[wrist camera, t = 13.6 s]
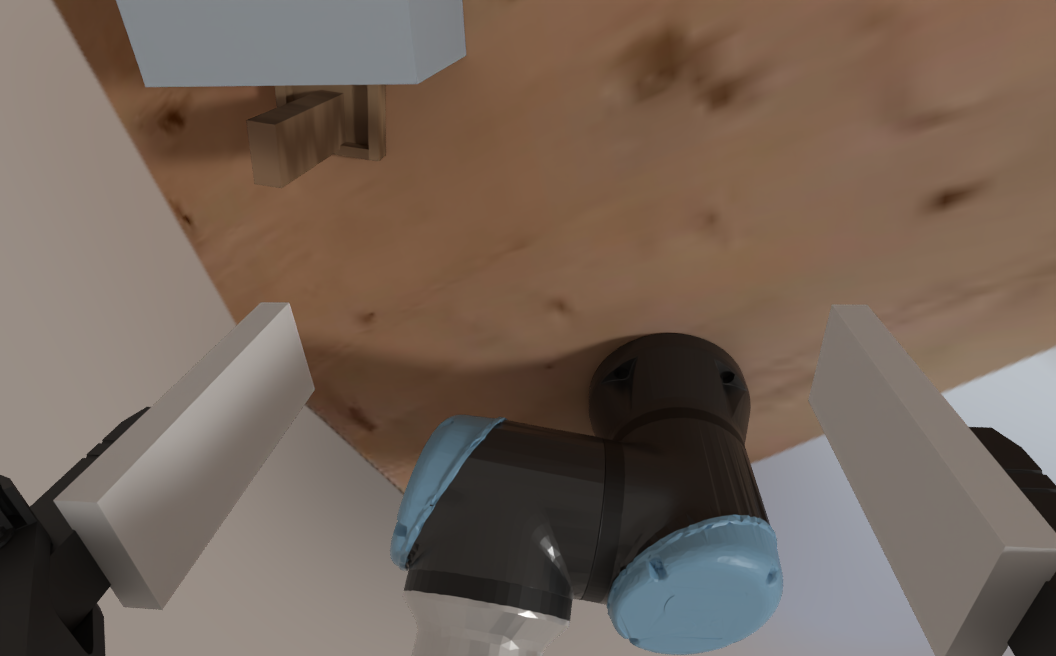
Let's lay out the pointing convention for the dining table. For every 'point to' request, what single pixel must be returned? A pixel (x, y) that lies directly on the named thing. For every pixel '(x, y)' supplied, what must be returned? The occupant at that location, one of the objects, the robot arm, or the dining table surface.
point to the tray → (316, 129)
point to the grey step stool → (292, 41)
